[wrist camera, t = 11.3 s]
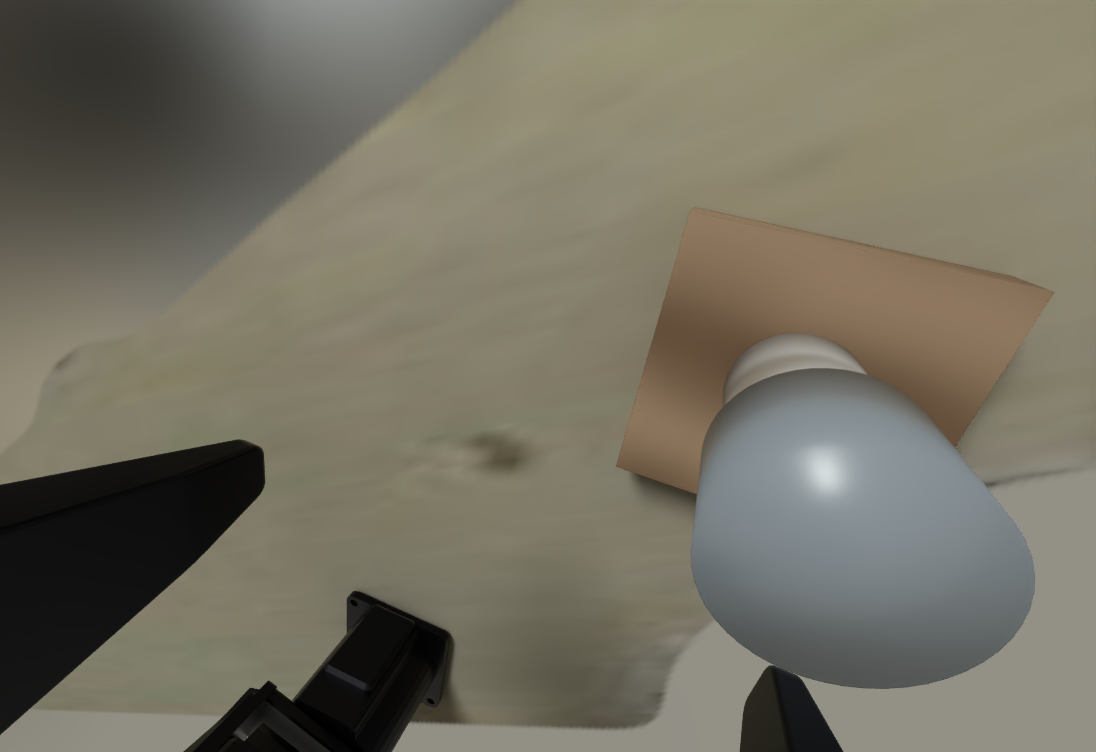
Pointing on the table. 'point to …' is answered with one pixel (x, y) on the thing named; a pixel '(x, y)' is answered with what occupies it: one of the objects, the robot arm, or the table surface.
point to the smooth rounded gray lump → (852, 535)
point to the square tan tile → (814, 331)
